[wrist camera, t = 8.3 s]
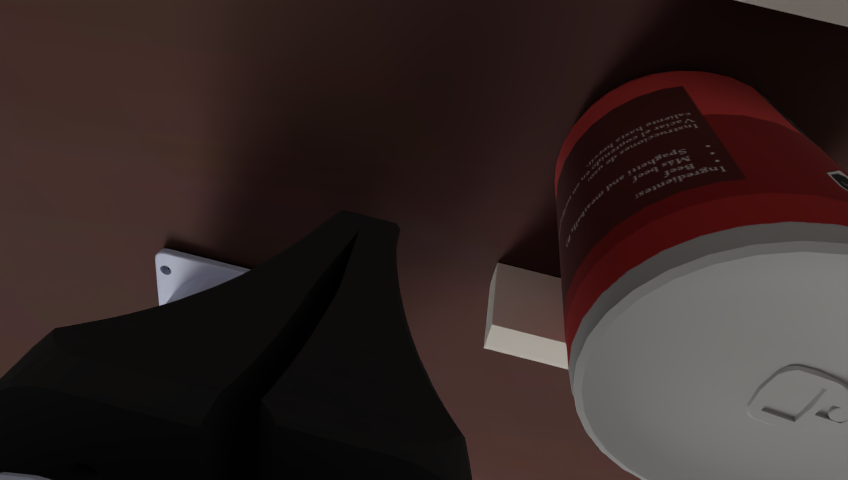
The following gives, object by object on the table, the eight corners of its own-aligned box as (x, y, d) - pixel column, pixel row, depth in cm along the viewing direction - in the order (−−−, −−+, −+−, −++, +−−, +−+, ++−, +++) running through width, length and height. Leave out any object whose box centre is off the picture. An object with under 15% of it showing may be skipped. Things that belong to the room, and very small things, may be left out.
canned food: (749, 264, 23) (898, 532, 14) (541, 247, 24) (549, 485, 15) (821, 67, 19) (1106, 261, 9) (567, 57, 20) (599, 223, 10)
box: (791, 360, 25) (832, 436, 21) (490, 284, 25) (483, 348, 22) (1060, 12, 17) (1190, 47, 13) (612, -92, 17) (632, -83, 14)
